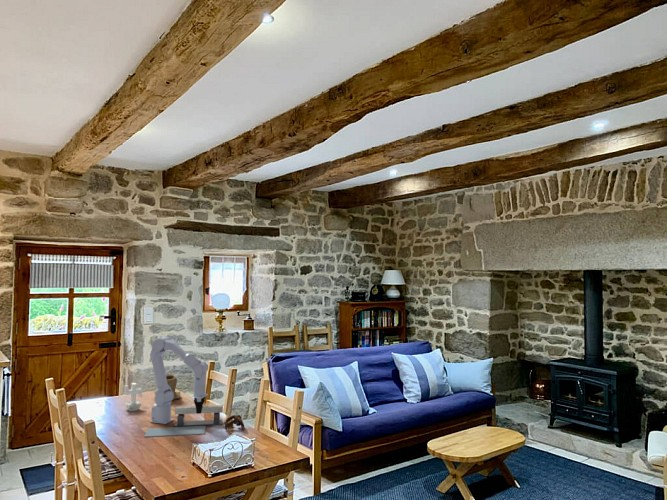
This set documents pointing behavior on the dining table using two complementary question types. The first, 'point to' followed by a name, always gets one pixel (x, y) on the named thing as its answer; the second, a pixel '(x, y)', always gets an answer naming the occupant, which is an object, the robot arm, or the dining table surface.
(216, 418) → the hook standards
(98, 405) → the dining table surface
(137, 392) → the figurine
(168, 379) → the stone cup
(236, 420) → the brown arched figure
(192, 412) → the steel rail
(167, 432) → the slate mat
